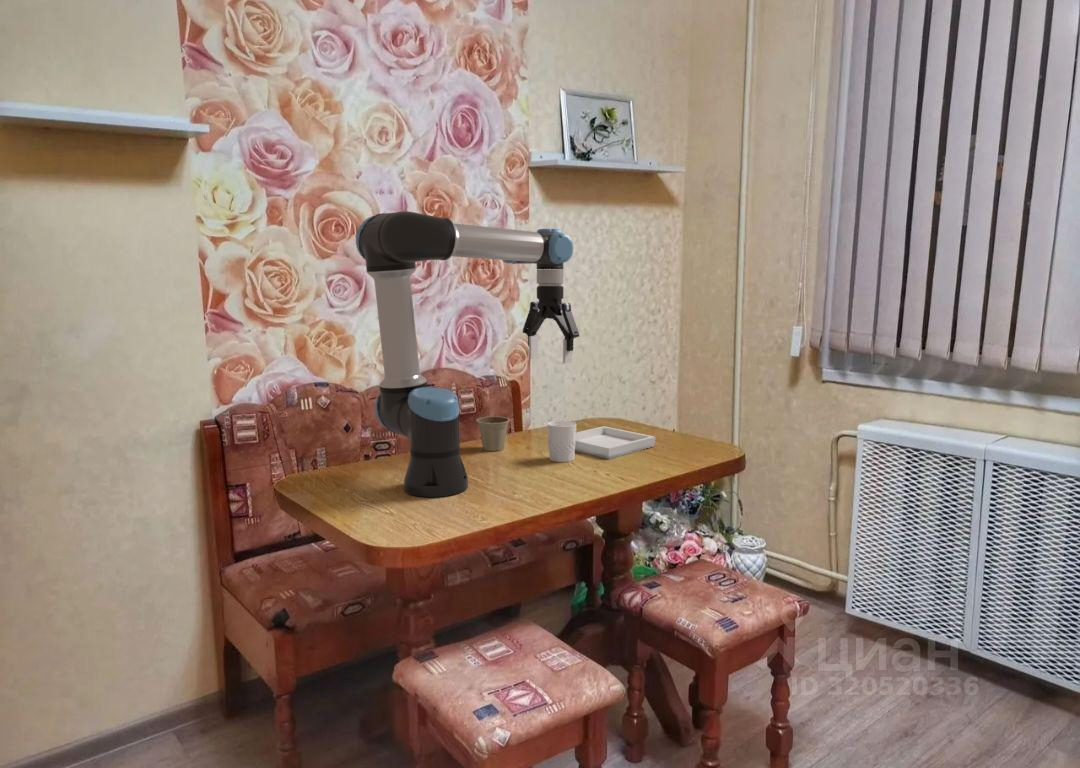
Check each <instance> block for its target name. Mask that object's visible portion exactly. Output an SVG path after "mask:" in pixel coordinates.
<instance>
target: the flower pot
mask: <svg viewBox="0 0 1080 768" xmlns="http://www.w3.org/2000/svg"><path fill="white" fill-rule="evenodd" d="M510 421H511V420H510V418H508V417H504V416H497V415H496V416H494V415H493V416H483V417H479V418H477V419H476V423H477V424H478V425H477V426H478V427H479V430H480V431H479V432H480V439H481V444H482V449H483V450H484V451H486V452H495V451H499V452H501V451H503V450H505V448H506V447H505V446H506V445H505V444H506V436H507V430H508V429H507V428H508V426H509V423H510Z"/></svg>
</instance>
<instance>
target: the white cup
mask: <svg viewBox="0 0 1080 768" xmlns="http://www.w3.org/2000/svg"><path fill="white" fill-rule="evenodd" d="M546 425H547V440H548V441H547V442H548V444H547V445H548V452H549V460H550V461H551V462H555V463H571V462H573V461H574V460H575V456H576V455H575V453H576V451H575V443H576V432H577V423H576V421H572V420H552V421H548V422H547V424H546Z"/></svg>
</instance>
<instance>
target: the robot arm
mask: <svg viewBox="0 0 1080 768" xmlns="http://www.w3.org/2000/svg"><path fill="white" fill-rule="evenodd" d="M355 245H356V248H357V249H356V250H357V252H358V253H359V256H361V257H362V259H364V260H365V266H366V273H367V275H369V276H370V277H371V278H372V279H373V280H374V281H373V282H374V289H375V297H376V308H377V309H376V310H377V317H378V324H379V325H378V326H379V327H378V329H379V336H380V345H381V353H382V363H383V373H384V377H383V379H382V380H381V381H380V382H379V394H378V396H377V397H376V399H375V402H374V403H375V404H374V412H375V416H376V419H377V422H379V424H380V425H381V426H382V427H383V428H385V429H386V430H387V431H389V432H390V433H392V434H395V435H400V436H403V437H406V438H408V439H409V450H410V451H409V452H410V454H409V455H410V458H409V462H408V465H407V469H406V473H405V477H404V479H403V488H404V489H403V491H404V492H405V493H407V494H409V495H411V496H414V497H422V498H441V497H447V496H453V495H458V494H461V493H462V492H465V491H466V490H467V489H468V488H469V478H468V477H469V476H468V475H467V471H466V469H465V465H464V463H463V460H462V457H461V448H460V447H461V444H460V443H461V442H460V441H461V440H460V438H461V437H460V413H461V412H460V410H461V409H460V404H459V398H458V396H457V394H456V392H453V391H451V390H449V389H445V388H443V387H441V388H438V387H435V386H431V387H430V386H428V381H427V378H425V377H424V376H423V375H422V374H421V372H420V363H419V362H420V361H419V353H418V351H419V349H418V342H417V333H416V332H417V331H416V321H415V313H414V311H415V310H414V302H413V301H414V300H413V292H412V280H411V276H412V275H413V273H415V271H416V270H417V268H416V263H417V262H423V261H447V260H449V259H451V257H456V258H457V257H459V258H468V259H470V258H471V259H472V258H473V259H482V260H483V259H485V260H486V259H487V260H500V261H502V262H504V263H505V264H512V265H517V264H522V265H525V264H527V265H528V264H535V265H536V284H537V287H536V299H537V300H538V301H531V302H530V303H529V311H528V313H527V315H526V319H525V322H524V325H523V328H522V333H523V334H525V335H526V336H527V347H528V359H529V360H533V359H534V360H535V359H539V353H538V351H539V349H538V347H539V344H538V343H539V342H538V340H539V339H538V338H539V337H538V334H537V332H538V331H539V329H540V328H541V326H542V325H543V323H544V321H545V320H546V319H550V320H552V319H553V321H555V323H556V324H557V326H558V329H560V332H561V333H562V335H563V336H564V339H562V342H563V343H562V363H563V364H567V363H568V364H569V363H572V362H573V361H572V360H573V352H572V351H574V339H575V338H578V337H580V332H579V329H578V326H577V324H576V323H577V322H576V321H575V318H574V314H573V312H572V304H571V303H569V302H566V303H565V302H562V300H563V299H564V286H562V285H563V284H564V263H567V262H568V261H569V260H570V259H571V258H572V256H573V253H574V243H573V239H572V238H571V237H570V236H569V235H568V234H566V233H564V232H563V230H562V229H560V228H538V229H537V230H536V231H530V230H529V231H528V230H522V229H521V230H519V229H512V228H502V227H491V226H482V225H472V224H464V223H454V222H453V221H452V219H451V218H447V217H440V216H435V215H429V214H423V213H420V212H413V211H404V210H403V211H395V212H382V213H377V214H375V215H372V216H369V217H368V218H366V219H365V220H364V221H363V222H362V223H361V224H360V225H359V226H358V229H357V232H356V235H355Z"/></svg>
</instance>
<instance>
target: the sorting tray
mask: <svg viewBox="0 0 1080 768" xmlns="http://www.w3.org/2000/svg"><path fill="white" fill-rule="evenodd" d="M653 446H655V447H656V436H653V435H648V434H645V433H644V434H643V433H639V432H634V431H630V430H624V429H619V428H614V427H610V426H605V425H603V426H598V427H595V428H589V429H586V430H581V431H576V443H575V452H578V453H581V454H587V455H590V456H594V457H598V458H602V459H606V460H612V459H614V458H615V459H616V458H619V457H623V456H626V454H627V455H630V454H629V453H631V454H633V452H634V453H638V452H641V451H640V450H642V451H644V450H643V449H645V450H647V449H646V448H649V449H651V448H650V447H653ZM653 448H654V447H653ZM637 451H638V452H637Z"/></svg>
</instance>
